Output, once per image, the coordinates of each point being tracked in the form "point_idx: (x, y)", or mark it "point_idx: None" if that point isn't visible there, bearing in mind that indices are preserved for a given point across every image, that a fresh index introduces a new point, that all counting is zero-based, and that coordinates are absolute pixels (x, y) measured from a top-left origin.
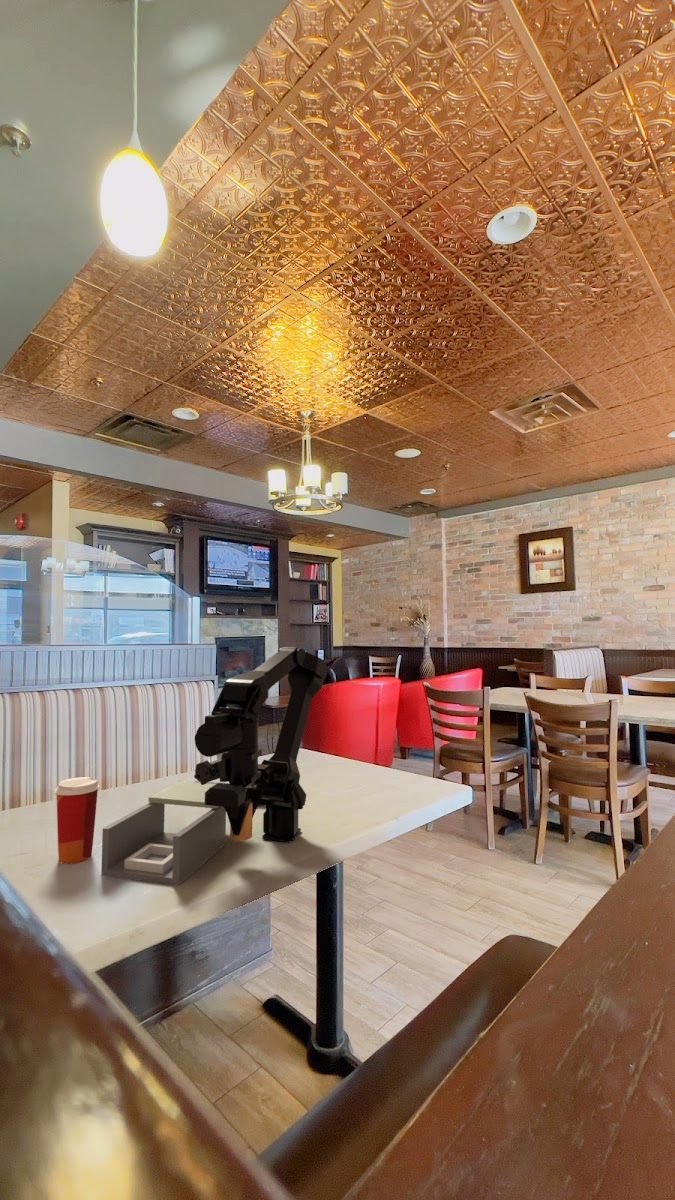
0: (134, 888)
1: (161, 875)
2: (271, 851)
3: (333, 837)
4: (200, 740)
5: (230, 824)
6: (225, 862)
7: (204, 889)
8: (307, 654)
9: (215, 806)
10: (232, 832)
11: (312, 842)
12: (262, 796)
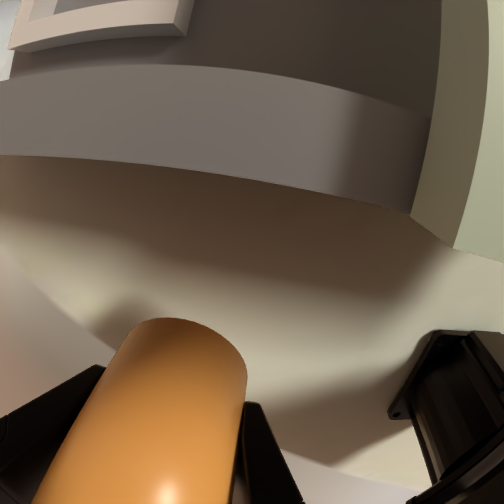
0: (7, 20)
1: (17, 59)
2: (322, 378)
3: (396, 466)
4: None
5: (43, 395)
6: (200, 234)
7: (15, 223)
8: None
9: (436, 192)
10: (111, 361)
11: (376, 446)
12: (501, 478)
